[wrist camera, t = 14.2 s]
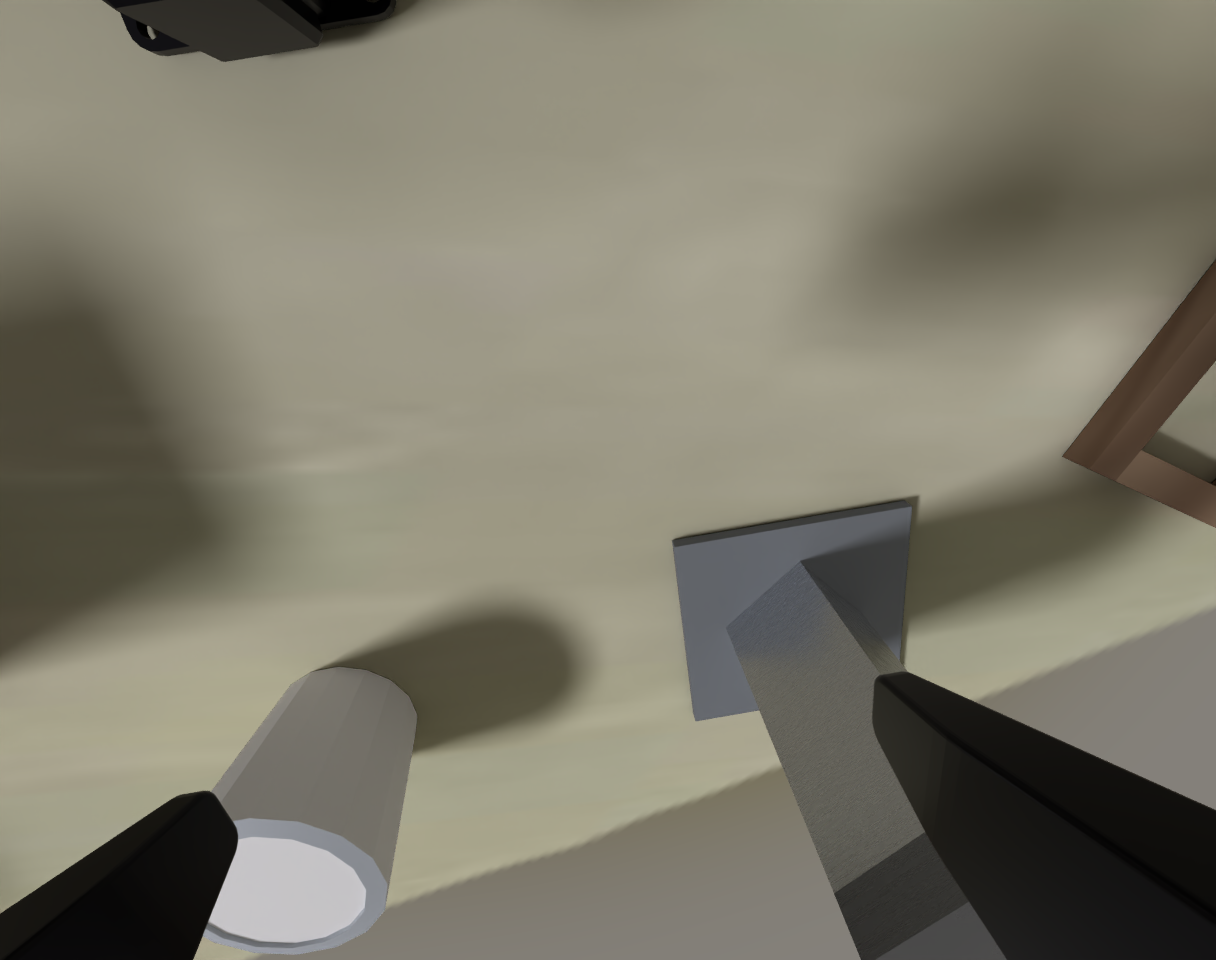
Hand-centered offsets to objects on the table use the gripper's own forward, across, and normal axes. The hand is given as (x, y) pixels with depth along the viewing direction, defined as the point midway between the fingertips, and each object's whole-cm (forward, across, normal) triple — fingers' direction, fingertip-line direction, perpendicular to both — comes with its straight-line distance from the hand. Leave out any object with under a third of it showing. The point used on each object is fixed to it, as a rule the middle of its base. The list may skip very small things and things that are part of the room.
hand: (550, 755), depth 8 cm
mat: (+13, +8, -10) cm, 18 cm away
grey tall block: (+12, +8, -9) cm, 18 cm away
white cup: (+13, -11, -11) cm, 20 cm away
